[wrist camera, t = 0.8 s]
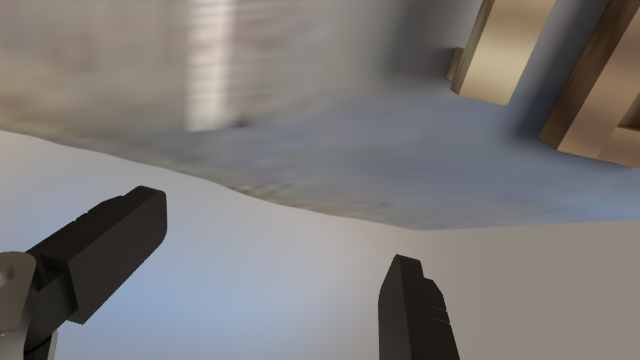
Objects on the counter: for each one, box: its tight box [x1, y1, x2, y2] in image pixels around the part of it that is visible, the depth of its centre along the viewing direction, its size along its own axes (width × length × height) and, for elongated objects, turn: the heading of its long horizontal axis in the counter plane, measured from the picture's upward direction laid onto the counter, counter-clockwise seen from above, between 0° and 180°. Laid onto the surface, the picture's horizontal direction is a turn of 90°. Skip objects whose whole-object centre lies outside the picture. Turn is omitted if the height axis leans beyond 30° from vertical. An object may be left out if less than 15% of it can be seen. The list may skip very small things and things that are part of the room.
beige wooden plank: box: [446, 0, 556, 106], centre depth 26 cm, size 13×4×8 cm, turn 169°
